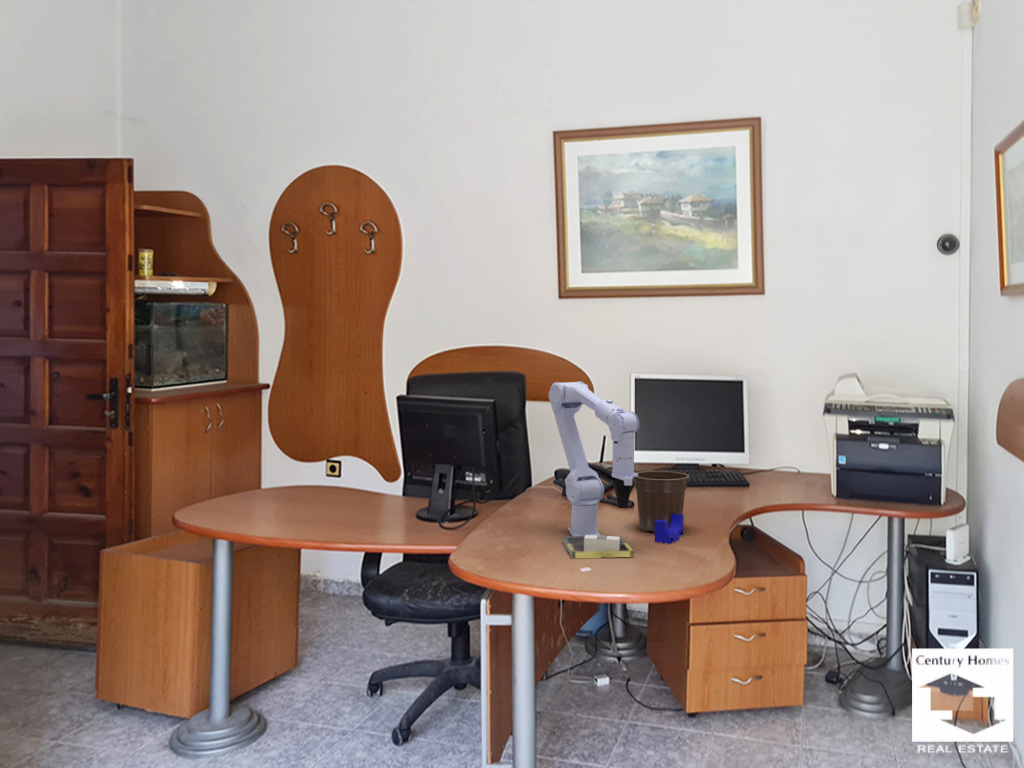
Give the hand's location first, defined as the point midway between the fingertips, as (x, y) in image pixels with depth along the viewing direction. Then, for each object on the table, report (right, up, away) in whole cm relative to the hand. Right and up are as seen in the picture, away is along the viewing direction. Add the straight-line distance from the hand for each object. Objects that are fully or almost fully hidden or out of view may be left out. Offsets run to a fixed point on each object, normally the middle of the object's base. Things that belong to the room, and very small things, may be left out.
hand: (622, 507), depth 238 cm
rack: (-7, -11, -4) cm, 13 cm away
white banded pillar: (-6, -11, -8) cm, 15 cm away
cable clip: (+15, -10, +9) cm, 20 cm away
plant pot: (+13, -9, +21) cm, 26 cm away
